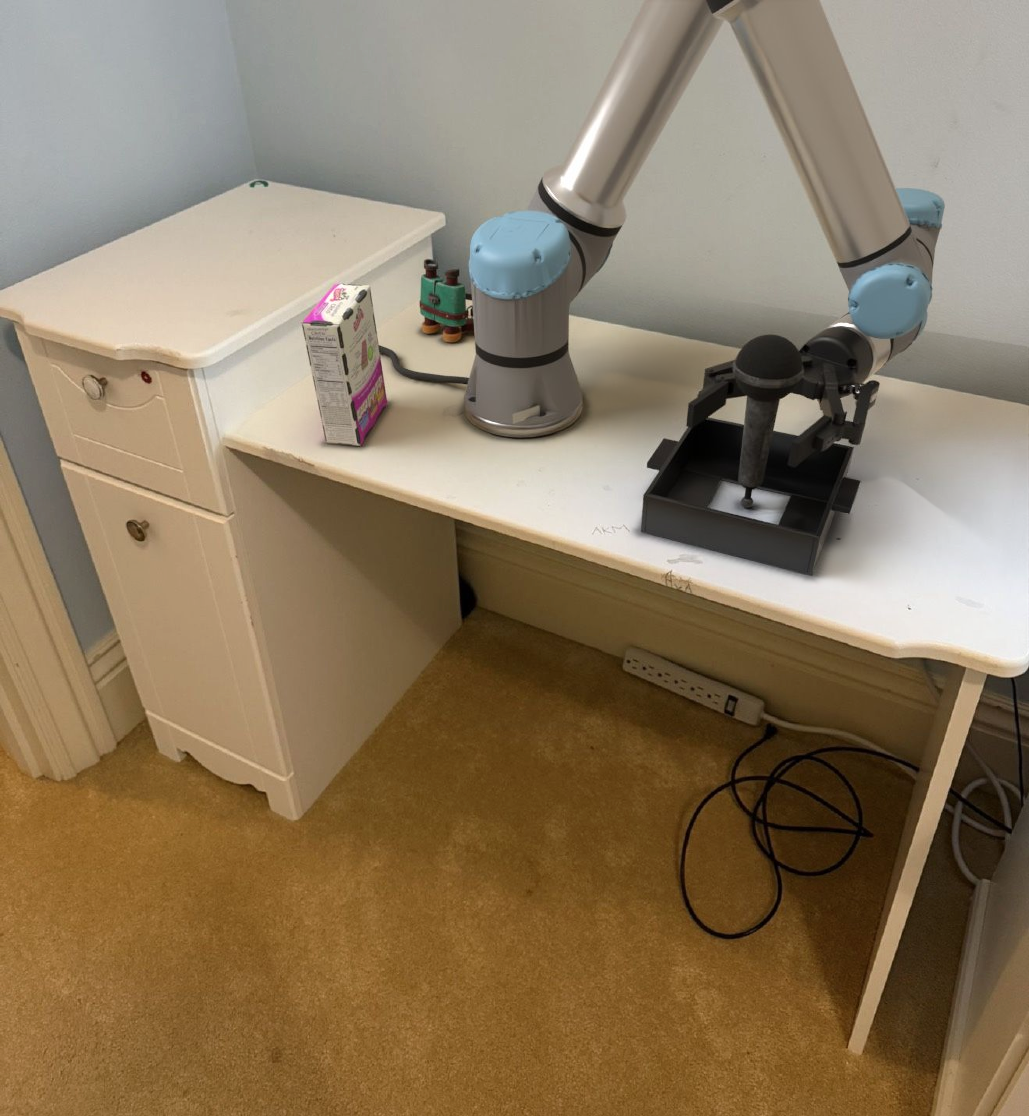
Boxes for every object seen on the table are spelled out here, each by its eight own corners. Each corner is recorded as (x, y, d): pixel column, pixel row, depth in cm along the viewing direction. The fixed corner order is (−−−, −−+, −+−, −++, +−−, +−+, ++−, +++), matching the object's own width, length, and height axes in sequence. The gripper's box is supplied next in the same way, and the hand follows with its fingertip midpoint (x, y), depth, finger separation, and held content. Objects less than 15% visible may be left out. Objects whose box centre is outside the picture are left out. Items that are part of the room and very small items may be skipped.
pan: (624, 527, 98) (626, 490, 95) (677, 446, 111) (681, 411, 108) (830, 580, 90) (839, 542, 87) (862, 486, 103) (871, 450, 100)
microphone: (737, 532, 97) (764, 359, 85) (702, 498, 102) (722, 331, 90) (791, 515, 99) (824, 344, 87) (754, 483, 104) (780, 317, 92)
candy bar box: (352, 401, 122) (333, 282, 112) (388, 404, 121) (372, 284, 111) (322, 445, 113) (299, 320, 103) (360, 448, 112) (340, 322, 102)
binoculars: (500, 261, 133) (450, 275, 127) (497, 331, 139) (450, 347, 133) (457, 247, 138) (407, 260, 132) (456, 315, 144) (409, 330, 138)
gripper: (935, 419, 100) (842, 508, 88) (746, 358, 113) (641, 429, 100) (954, 356, 95) (858, 441, 83) (755, 299, 108) (646, 366, 95)
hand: (739, 434), depth 91 cm, fingers open, 11 cm apart
